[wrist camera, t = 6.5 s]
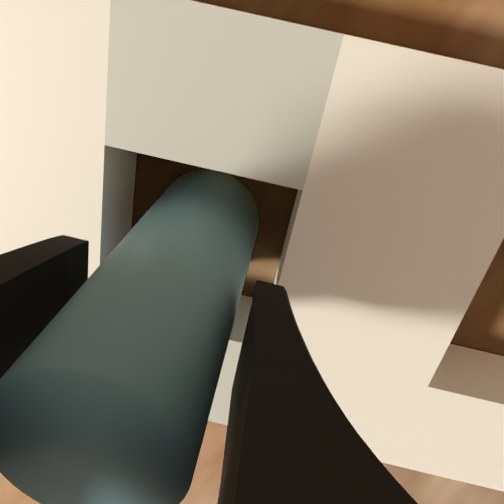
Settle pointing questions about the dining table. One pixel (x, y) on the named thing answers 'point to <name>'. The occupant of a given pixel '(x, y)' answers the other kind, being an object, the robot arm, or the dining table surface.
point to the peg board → (289, 175)
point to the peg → (133, 356)
